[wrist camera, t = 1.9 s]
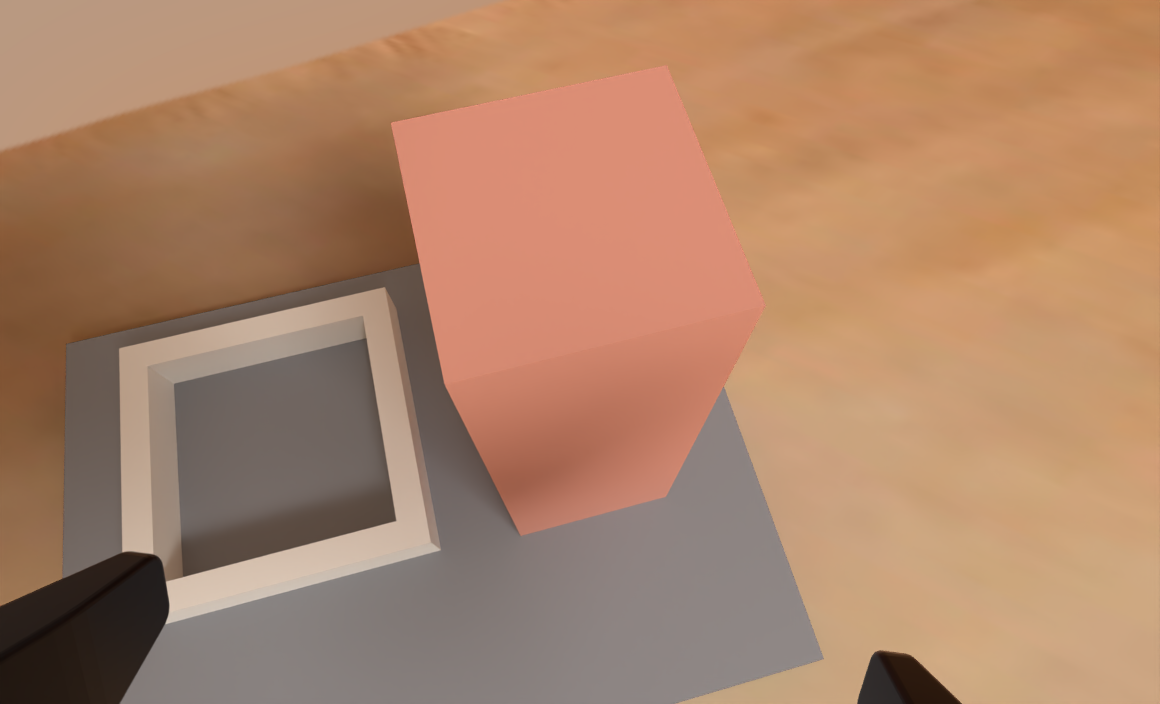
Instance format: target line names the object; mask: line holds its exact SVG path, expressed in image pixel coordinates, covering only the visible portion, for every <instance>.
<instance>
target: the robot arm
mask: <svg viewBox="0 0 1160 704" xmlns="http://www.w3.org/2000/svg"><path fill="white" fill-rule="evenodd" d="M169 607H170V604H169V597H168V591H167V585H166V579H165V573H164V567H163V563H162V561H161V559H160V558H159V557H158V556H156V555H154V554H149V553H141V552H134V551H126V552H122V553H119V554H117V555H115V556H112V557H110V558H108V559H106V560H104V561H101V562H99V563H97V564H95V565H92V566H90V567H88V568H86V569H83V570H81V571H79V572H77V573H74V574H72V575H70V576H68V577H65V578H63V579H61V580H59V581H56V582H54V583H52V584H50V585H47V586H45V587H43V588H41V589H38V590H36V591H34V592H32V593H29V594H27V595H25V596H23V597H20V598H18V599H16V600H14V601H11V602H9V603H7V604H5V605H2V606H0V704H120V703H121V701H122V699H123V697H124V696H125V694H126V692H127V690H128V689H129V687H130V685H131V683H132V682H133V680H134V678H135V676H136V675H137V673H138V671H139V669H140V668H141V666H142V664H143V662H144V661H145V659H146V657H147V655H148V654H149V652H150V650H151V648H152V647H153V645H154V643H155V641H156V640H157V638H158V636H159V634H160V633H161V631H162V629H163V627H164V625H165V623H166V621H167V618H168V614H169ZM857 704H962V703H961V702H960V701H959V700H958V699H957V698H956V697H955V696H954V695H952V694H951V693H950V692H949V691H948V690H947V689H946V688H945V687H944V686H943V685H942V684H941V683H940V682H939V681H938V680H937V679H936V678H935V677H934V676H933V675H932V674H931V673H930V672H929V671H928V670H927V669H926V668H924V667H923V666H922V665H921V664H920V663H919V662H918V661H917V660H916V659H915V658H914V657H912V656H911V655H908V654H905V653H897V652H890V651H877V652H875V653H874V654H873V655H872V657H871V660H870V663H869V666H868V669H867V672H866V675H865V678H864V682H863V685H862V688H861V691H860V694H859V698H858V703H857Z"/></svg>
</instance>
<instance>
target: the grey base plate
mask: <svg viewBox="0 0 1160 704" xmlns="http://www.w3.org/2000/svg"><path fill="white" fill-rule="evenodd" d="M126 551H134V552H141V553H149V554H154V555H156V556H158V557H159V558H160V559H161V561H162V563H163V567H164V573H165V579H166V585H167V591H168V597H169V604H170V607H169V614H168V618H167V621H166V623H165V625H164V627H163V629H162V631H161V633H160V634H159V636H158V638H157V640H156V641H155V643H154V645H153V647H152V648H151V650H150V652H149V654H148V655H147V657H146V659H145V661H144V662H143V664H142V666H141V668H140V669H139V671H138V673H137V675H136V676H135V678H134V680H133V682H132V683H131V685H130V687H129V689H128V690H127V692H126V694H125V696H124V697H123V699H122V701H121V703H120V704H675V703H679V702H682V701H685V700H689V699H692V698H695V697H699V696H702V695H705V694H709V693H712V692H715V691H719V690H722V689H725V688H729V687H732V686H735V685H739V684H742V683H745V682H749V681H752V680H755V679H759V678H762V677H765V676H769V675H772V674H775V673H779V672H782V671H785V670H789V669H792V668H795V667H799V666H802V665H805V664H809V663H812V662H815V661H819V660H822V659H824V658H823V655H822V653H821V650H820V647H819V644H818V642H817V639H816V636H815V634H814V631H813V628H812V625H811V623H810V620H809V617H808V615H807V612H806V609H805V606H804V604H803V601H802V598H801V595H800V593H799V590H798V587H797V585H796V582H795V579H794V576H793V574H792V571H791V568H790V566H789V563H788V560H787V557H786V555H785V552H784V549H783V546H782V544H781V541H780V538H779V536H778V533H777V530H776V527H775V525H774V522H773V519H772V517H771V514H770V511H769V508H768V506H767V503H766V500H765V497H764V495H763V492H762V489H761V487H760V484H759V481H758V478H757V476H756V473H755V470H754V468H753V465H752V462H751V459H750V457H749V454H748V451H747V449H746V446H745V443H744V440H743V438H742V435H741V432H740V429H739V427H738V424H737V421H736V419H735V416H734V413H733V410H732V408H731V405H730V402H729V400H728V397H727V394H726V391H725V389H724V387H723V388H722V390H721V392H720V394H719V396H718V398H717V400H716V402H715V404H714V406H713V408H712V410H711V411H710V413H709V415H708V417H707V419H706V421H705V423H704V425H703V427H702V429H701V431H700V433H699V434H698V436H697V438H696V440H695V442H694V444H693V446H692V448H691V450H690V452H689V454H688V456H687V457H686V459H685V461H684V463H683V465H682V467H681V469H680V471H679V473H678V475H677V477H676V479H675V480H674V482H673V484H672V486H671V488H670V490H669V492H668V494H667V496H666V497H663V498H660V499H656V500H652V501H648V502H645V503H641V504H637V505H634V506H630V507H626V508H623V509H619V510H615V511H611V512H608V513H604V514H600V515H597V516H593V517H589V518H585V519H582V520H578V521H574V522H571V523H567V524H563V525H560V526H556V527H552V528H548V529H545V530H541V531H537V532H534V533H530V534H526V535H522V536H520V534H519V532H518V530H517V528H516V526H515V524H514V522H513V520H512V518H511V516H510V514H509V512H508V510H507V508H506V506H505V504H504V502H503V500H502V498H501V496H500V494H499V492H498V490H497V488H496V486H495V484H494V482H493V480H492V478H491V476H490V474H489V472H488V470H487V468H486V466H485V464H484V462H483V460H482V458H481V456H480V454H479V452H478V450H477V448H476V446H475V444H474V442H473V440H472V438H471V436H470V434H469V432H468V430H467V428H466V426H465V424H464V422H463V420H462V418H461V416H460V414H459V412H458V410H457V408H456V406H455V404H454V402H453V400H452V398H451V396H450V394H449V392H448V390H447V389H446V387H445V384H444V380H443V375H442V370H441V365H440V360H439V355H438V350H437V345H436V341H435V336H434V331H433V326H432V321H431V316H430V311H429V306H428V302H427V297H426V292H425V287H424V282H423V277H422V272H421V267H420V263H419V264H415V265H410V266H406V267H401V268H397V269H393V270H388V271H384V272H379V273H375V274H371V275H366V276H362V277H358V278H353V279H349V280H344V281H340V282H336V283H331V284H327V285H323V286H318V287H314V288H309V289H305V290H301V291H296V292H292V293H287V294H283V295H279V296H274V297H270V298H266V299H261V300H257V301H252V302H248V303H244V304H239V305H235V306H231V307H226V308H222V309H217V310H213V311H209V312H204V313H200V314H195V315H191V316H187V317H182V318H178V319H174V320H169V321H165V322H160V323H156V324H152V325H147V326H143V327H139V328H134V329H130V330H125V331H121V332H117V333H112V334H108V335H103V336H99V337H95V338H90V339H86V340H82V341H77V342H73V343H68V344H66V396H65V459H64V522H63V578H65V577H68V576H70V575H72V574H74V573H77V572H79V571H81V570H83V569H86V568H88V567H90V566H92V565H95V564H97V563H99V562H101V561H104V560H106V559H108V558H110V557H112V556H115V555H117V554H119V553H122V552H126Z"/></svg>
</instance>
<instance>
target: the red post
mask: <svg viewBox="0 0 1160 704" xmlns="http://www.w3.org/2000/svg"><path fill="white" fill-rule="evenodd" d="M391 126H392V131H393V136H394V141H395V145H396V150H397V155H398V160H399V165H400V170H401V175H402V180H403V184H404V189H405V194H406V199H407V204H408V209H409V214H410V219H411V224H412V228H413V233H414V238H415V243H416V248H417V253H418V258H419V263H420V267H421V272H422V277H423V282H424V287H425V292H426V297H427V302H428V306H429V311H430V316H431V321H432V326H433V331H434V336H435V341H436V345H437V350H438V355H439V360H440V365H441V370H442V375H443V380H444V384H445V387H446V389H447V390H448V392H449V394H450V396H451V398H452V400H453V402H454V404H455V406H456V408H457V410H458V412H459V414H460V416H461V418H462V420H463V422H464V424H465V426H466V428H467V430H468V432H469V434H470V436H471V438H472V440H473V442H474V444H475V446H476V448H477V450H478V452H479V454H480V456H481V458H482V460H483V462H484V464H485V466H486V468H487V470H488V472H489V474H490V476H491V478H492V480H493V482H494V484H495V486H496V488H497V490H498V492H499V494H500V496H501V498H502V500H503V502H504V504H505V506H506V508H507V510H508V512H509V514H510V516H511V518H512V520H513V522H514V524H515V526H516V528H517V530H518V532H519V534H520V536H522V535H526V534H530V533H534V532H537V531H541V530H545V529H548V528H552V527H556V526H560V525H563V524H567V523H571V522H574V521H578V520H582V519H585V518H589V517H593V516H597V515H600V514H604V513H608V512H611V511H615V510H619V509H623V508H626V507H630V506H634V505H637V504H641V503H645V502H648V501H652V500H656V499H660V498H663V497H666V496H667V494H668V492H669V490H670V488H671V486H672V484H673V482H674V480H675V479H676V477H677V475H678V473H679V471H680V469H681V467H682V465H683V463H684V461H685V459H686V457H687V456H688V454H689V452H690V450H691V448H692V446H693V444H694V442H695V440H696V438H697V436H698V434H699V433H700V431H701V429H702V427H703V425H704V423H705V421H706V419H707V417H708V415H709V413H710V411H711V410H712V408H713V406H714V404H715V402H716V400H717V398H718V396H719V394H720V392H721V390H722V388H723V387H724V385H725V383H726V381H727V379H728V377H729V375H730V373H731V371H732V369H733V367H734V365H735V364H736V362H737V360H738V358H739V356H740V354H741V352H742V350H743V348H744V346H745V344H746V342H747V341H748V339H749V337H750V335H751V333H752V331H753V329H754V327H755V325H756V323H757V321H758V319H759V318H760V316H761V314H762V312H763V310H764V308H765V306H766V305H765V303H764V300H763V298H762V295H761V293H760V290H759V288H758V286H757V283H756V281H755V278H754V276H753V273H752V271H751V269H750V266H749V264H748V261H747V259H746V256H745V254H744V252H743V249H742V247H741V244H740V242H739V239H738V237H737V235H736V232H735V230H734V227H733V225H732V222H731V220H730V218H729V215H728V213H727V210H726V208H725V205H724V203H723V201H722V198H721V196H720V193H719V191H718V188H717V186H716V184H715V181H714V179H713V176H712V174H711V171H710V169H709V166H708V164H707V162H706V159H705V157H704V154H703V152H702V149H701V147H700V145H699V142H698V140H697V137H696V135H695V132H694V130H693V128H692V125H691V123H690V120H689V118H688V115H687V113H686V111H685V108H684V106H683V103H682V101H681V98H680V96H679V94H678V91H677V89H676V86H675V84H674V81H673V79H672V77H671V74H670V72H669V69H668V67H667V65H665V66H661V67H656V68H651V69H646V70H641V71H637V72H632V73H627V74H622V75H617V76H612V77H608V78H603V79H598V80H593V81H588V82H584V83H579V84H574V85H569V86H564V87H560V88H555V89H550V90H545V91H540V92H535V93H531V94H526V95H521V96H516V97H511V98H507V99H502V100H497V101H492V102H487V103H483V104H478V105H473V106H468V107H463V108H458V109H454V110H449V111H444V112H439V113H434V114H430V115H425V116H420V117H415V118H410V119H406V120H401V121H396V122H391Z"/></svg>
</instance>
